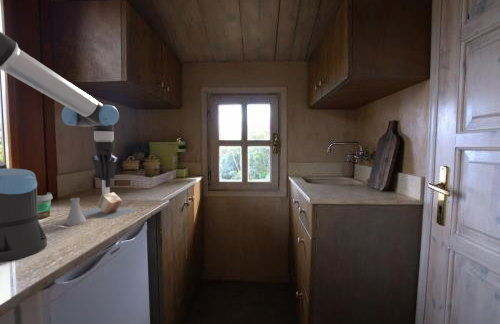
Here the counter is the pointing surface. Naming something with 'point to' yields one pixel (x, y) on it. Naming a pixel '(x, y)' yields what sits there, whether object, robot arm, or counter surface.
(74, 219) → the flask
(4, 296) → the counter surface
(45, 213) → the food container
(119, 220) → the counter surface
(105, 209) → the birch cube
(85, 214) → the rubber mat
